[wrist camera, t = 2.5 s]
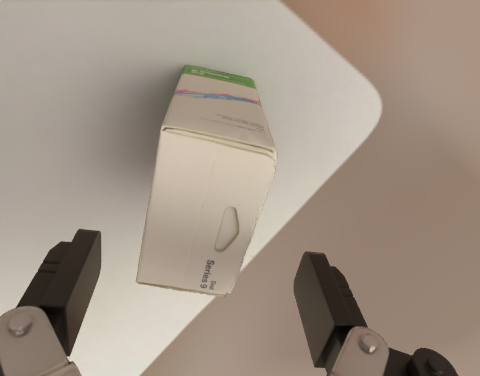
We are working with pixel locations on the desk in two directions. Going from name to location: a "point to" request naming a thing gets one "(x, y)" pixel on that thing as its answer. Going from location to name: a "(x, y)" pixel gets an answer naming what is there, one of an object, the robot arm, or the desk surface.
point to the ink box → (206, 184)
